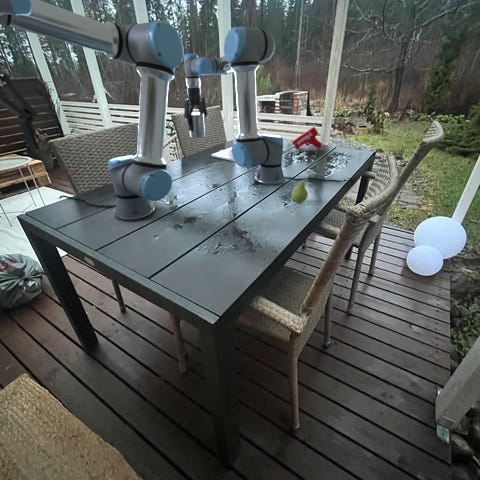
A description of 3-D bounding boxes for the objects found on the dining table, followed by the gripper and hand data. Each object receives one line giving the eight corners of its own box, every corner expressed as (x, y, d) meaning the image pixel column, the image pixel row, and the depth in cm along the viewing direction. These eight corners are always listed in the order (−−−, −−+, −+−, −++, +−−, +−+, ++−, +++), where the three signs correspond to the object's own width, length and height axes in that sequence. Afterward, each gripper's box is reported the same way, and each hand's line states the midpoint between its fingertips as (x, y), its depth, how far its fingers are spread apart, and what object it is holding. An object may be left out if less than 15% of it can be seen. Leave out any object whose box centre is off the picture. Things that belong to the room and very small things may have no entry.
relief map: (253, 165, 166) (254, 157, 163) (211, 156, 184) (210, 148, 181) (276, 155, 184) (277, 147, 181) (235, 147, 202) (235, 140, 199)
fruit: (288, 200, 123) (290, 174, 116) (302, 197, 125) (305, 172, 119) (296, 206, 118) (299, 179, 111) (310, 203, 120) (314, 177, 114)
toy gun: (325, 144, 195) (314, 126, 192) (324, 145, 192) (313, 127, 188) (303, 157, 205) (292, 140, 202) (302, 159, 202) (291, 142, 198)
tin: (203, 134, 171) (202, 112, 164) (206, 137, 164) (204, 114, 157) (189, 135, 169) (187, 112, 162) (191, 138, 162) (189, 115, 155)
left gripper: (-126, 41, 42) (-47, 173, 54) (31, 48, 62) (64, 144, 73) (-148, 42, 45) (-68, 169, 56) (9, 49, 64) (45, 142, 76)
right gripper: (203, 85, 161) (206, 126, 173) (173, 87, 147) (179, 131, 160) (212, 86, 157) (214, 127, 169) (182, 88, 143) (187, 133, 156)
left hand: (7, 155), depth 65 cm, fingers open, 13 cm apart
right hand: (197, 129), depth 164 cm, fingers closed on tin, 9 cm apart
